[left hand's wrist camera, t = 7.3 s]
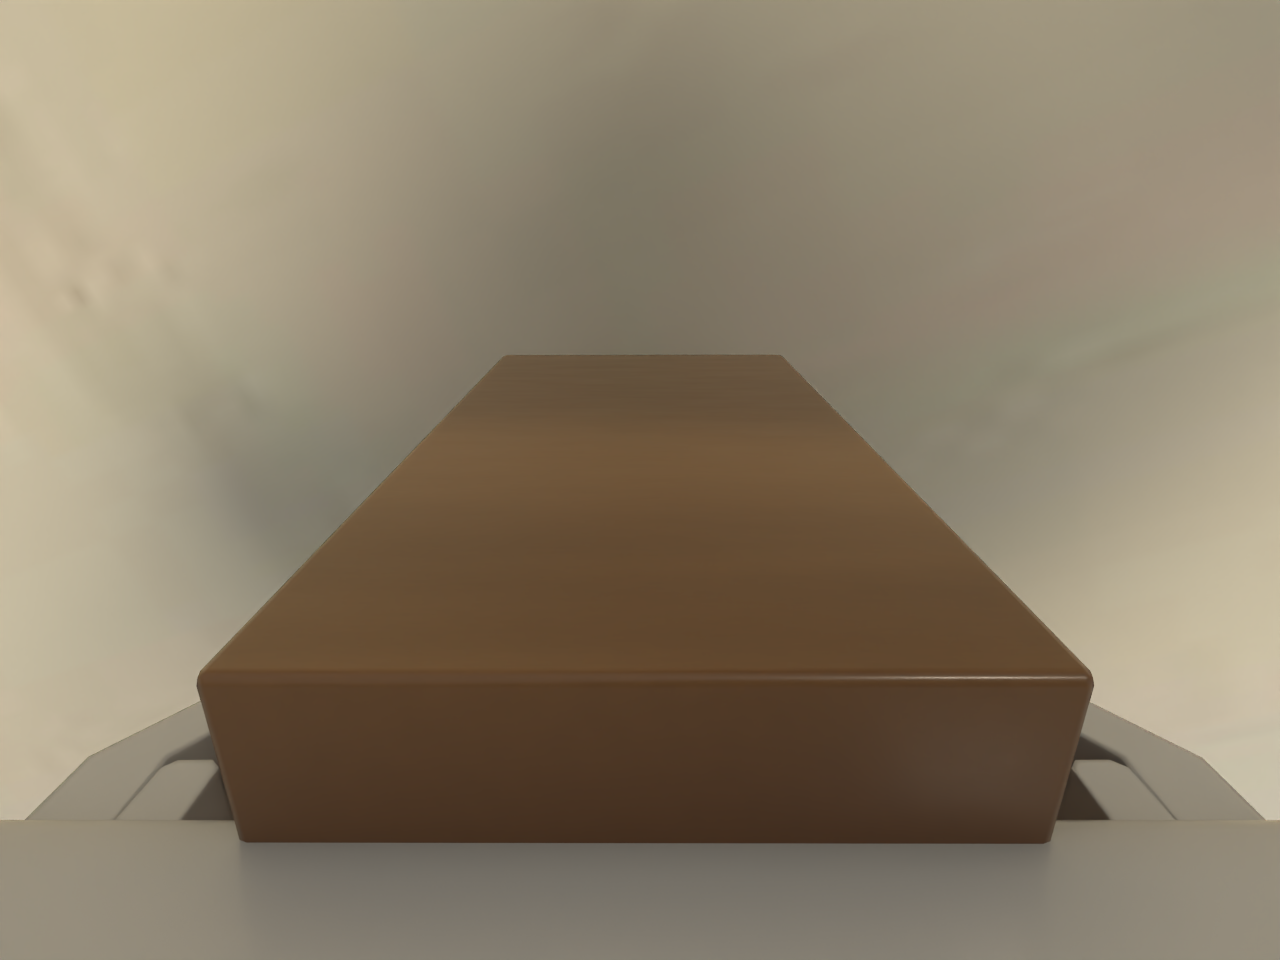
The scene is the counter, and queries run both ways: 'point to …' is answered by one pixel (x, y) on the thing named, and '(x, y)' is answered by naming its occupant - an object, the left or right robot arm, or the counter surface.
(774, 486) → the box
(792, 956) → the left robot arm
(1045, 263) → the counter surface
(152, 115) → the counter surface
